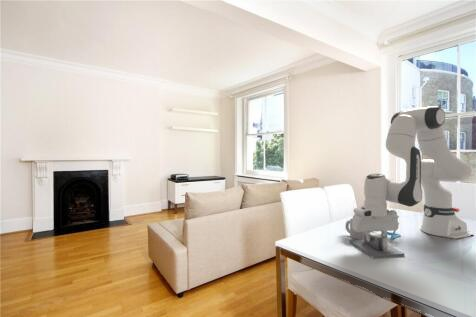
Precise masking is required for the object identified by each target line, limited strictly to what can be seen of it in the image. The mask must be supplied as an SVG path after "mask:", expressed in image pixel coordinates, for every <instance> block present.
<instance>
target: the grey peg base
mask: <svg viewBox="0 0 476 317" xmlns="http://www.w3.org/2000/svg"><path fill="white" fill-rule="evenodd" d="M349 243H350V244H351V245H352V246H354V247H356V248H357V249H358V250H360V251H362V252H363V253H364V254H366V255H368V256H370V258H372V259H383V258H398V257H400V258H401V257H405V253H404V252H402V251H400V250H399V249H397V248H395V247H394V246H391V245H389V244H388V237H387V238H383V250H376V249H375V248H373V247H371V246H369V245H368V244H366V243H364V239H357V240H356V239H349Z"/></svg>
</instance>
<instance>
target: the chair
mask: <svg viewBox="0 0 476 317" xmlns="http://www.w3.org/2000/svg"><path fill="white" fill-rule="evenodd" d="M399 217H400V216H399V215H398V214H397V219H399ZM399 225H400V222H398V226H399ZM396 231H397V230H393V232H392V231H387V233H386V235H385V237H386V238H387V239H388V235H390V240H394V239H397V238H401V233H400V234H399V233H396Z"/></svg>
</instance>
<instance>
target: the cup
mask: <svg viewBox="0 0 476 317" xmlns="http://www.w3.org/2000/svg"><path fill="white" fill-rule="evenodd" d="M352 219H353V217H352V218H350V219H349V220H346V222H345V230H346V232H347V233H348V234H349V237H350V238H351V239H352V240H357V239H364V232H356V231H354V230H353V228H352Z"/></svg>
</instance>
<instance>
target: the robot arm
mask: <svg viewBox="0 0 476 317" xmlns="http://www.w3.org/2000/svg"><path fill="white" fill-rule="evenodd" d="M445 120H446V114H445V110H444V109H443V108H442V107H440V106H436V105H435V106H433V105H431V106H427V107H425V106H424V107H416V108H413V109H407V110H401V111H398V112H395V113H394V114H393V116H391V119H390V127H389V129H388V132H387V134H386V135H387V136H386V140H385V148H386V150H387V151H388V152H389V153H390V154H392V155H393V156H395V157H397V158H400V159H402V160H403V161H405V164H406V169H405V180H404V181H398V180H397V181H395V180H390V179H388V178H387V177H386V176H385V174H383V173H371V174H368V175H366V177H365V180H364V186H363V187H364V188H363V193H364V194H363V195H364V202H363V205H359V206H357V207H355V208H354V209H353V216H352V218H353V219H352V218H351V219H352V228H353V230H354V231H356V232H364V234H365V235H366V240H367V241H372V237H370V236H369V234H370V232H375V233H376V232H381V233H380V235H382V236H384V237H385V235H386V234H387V232H392V231H394V230H396V231H397V230H399V225H398V223H399V221H398V219H399V218H398V219H397V215H398V213H397V211H396V209H393V208H392V209H388V203H387V202H390V203H394V204H399V205H403V206H406V207H413V206H415V205H418V204H419V203H420V202H421V201H422V199H423V193H424V204H423V212H424V213H423V217H422V222H421V225H420V231H421V232H423V233H426V234H429V235H433V236H437V237H445V238H449V239H460V238H461V239H462V238H466V237H472V236H471V235H473V236H474V234H475V233H473V232H472V231H470V230H468V226H467V223H466V222H465V220H463V219H462V218H460V217H459V216H458V215H456V213H459V212H460V208H457V207H453V194H452V192H451V190H449V189H448V188H446V187H444V186H443V185H442V184H441V183H440V181H442V182H456V183H457V182H465V181H467V180H468V179H469V178H470V177H471V175H472V167H471V166H470V165H469V163H468V162H466V161H463V160H462V159H460V158H459V157H457V156H456V154H454V153H453V152H452V151H451V150H450V148H449V145H448V142H447V139H446V134H445V131H444V130H445V129H444V127H443V124H444V123H445V122H446V121H445ZM416 139H417V142H418V147H419V148H417V147H416V144H415V140H416ZM421 154H422V155H423V156H426V157H428V158H430V159H422V158H421V157H422V156H421ZM422 188H423V190H422Z"/></svg>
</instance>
